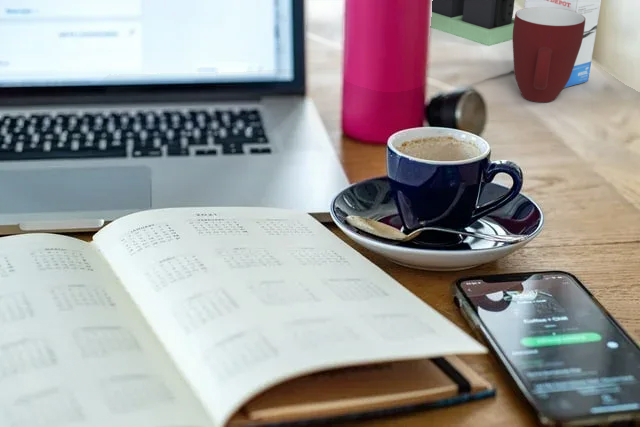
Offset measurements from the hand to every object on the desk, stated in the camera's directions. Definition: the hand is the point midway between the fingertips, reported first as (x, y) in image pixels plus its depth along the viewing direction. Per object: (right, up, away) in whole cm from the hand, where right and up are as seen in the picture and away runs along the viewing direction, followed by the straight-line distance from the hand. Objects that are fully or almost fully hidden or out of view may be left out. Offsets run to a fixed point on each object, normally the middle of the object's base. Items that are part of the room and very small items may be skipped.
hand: (487, 19), depth 127 cm
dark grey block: (0, 0, 0) cm, 1 cm away
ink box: (+6, -10, -13) cm, 18 cm away
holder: (-2, -1, +4) cm, 5 cm away
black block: (-5, +1, +6) cm, 8 cm away
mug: (+2, -15, -21) cm, 26 cm away
